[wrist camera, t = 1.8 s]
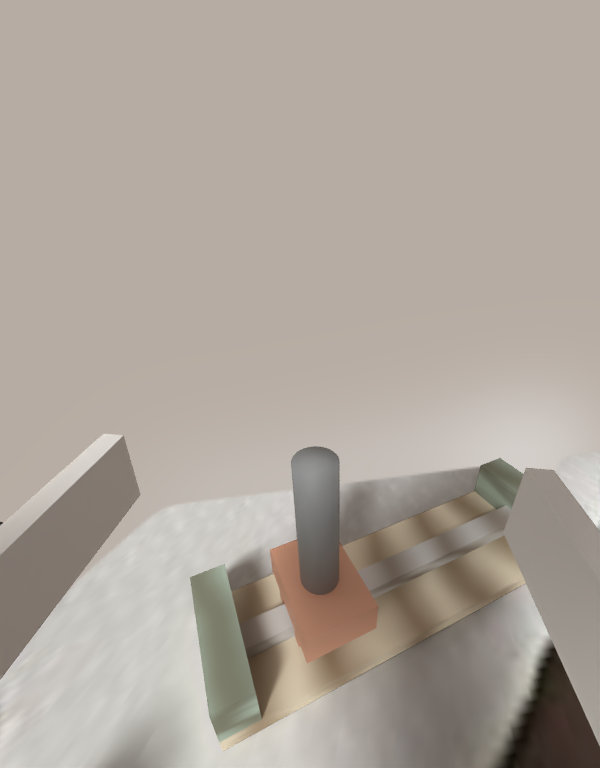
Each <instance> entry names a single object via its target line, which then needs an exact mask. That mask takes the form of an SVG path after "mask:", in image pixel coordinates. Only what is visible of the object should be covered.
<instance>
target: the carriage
mask: <svg viewBox="0 0 600 768" xmlns="http://www.w3.org/2000/svg"><path fill="white" fill-rule="evenodd" d="M291 468H292V480H293V493H294V505H295V518H296V530H297V540H294V541H292V542H289V543H286V544H284V545H281V546H279V547H276V548H273V549H271V550H270V554H271V561H272V569H273V573H274V576H275V578H276V581H277V584H278V587H279V590H280V597H281V600H282V603H283V604H285V605H286V608H287V611H288V614H289V616H290V619H291V622H292V624H293V627H294V632H295V638H296V641H297V644H298V647H300V646H301V649H302V651H303V654H304V657H305V660H306V662H307V663H309V662H311V661H313V660H315V659H317V658H319V657H321V656H323V655H325V654H327V653H329V652H331V651H333V650H335V649H337V648H339V647H341V646H342V645H344V644H346V643H348V642H350V641H352V640H354V639H356V638H358V637H360V636H362V635H364V634H366V633H368V632H370V631H372V630H374V629H376V625H377V614H378V605H377V603H376V601H375V600H374V598H373V596H372V595H371V593H370V591H369V590H368V588H367V586H366V585H365V583H364V581H363V580H362V578H361V576H360V575H359V573H358V571H357V570H356V568H355V567H354V565H353V563H352V562H351V560H350V558H349V557H348V555H347V553H346V552H345V550H344V548H343V547H342V545H341V543H340V542H339V458H338V456H337V455H336V454H335V453H334V452H333V451H331V450H330V449H327V448H324V447H308V448H304V449H302V450H300V451H298V452H297V453H296V454H295V455H294V456H293V458H292V460H291Z"/></svg>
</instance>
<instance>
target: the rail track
mask: <svg viewBox="0 0 600 768" xmlns="http://www.w3.org/2000/svg"><path fill="white" fill-rule="evenodd" d="M523 475H524V474H522V473H521V472H519V471H518V470H517V469H515V468H514V467H512V466H511V465H509V464H508V463H506V462H505V461H503V460H502V459H501V458H499V459H497V460H494V461H492V462H489V463H486V464H484V465H481V467H480V471H479V475H478V479H477V483H476V487H475V491H474V492H471V493H469V494H466V495H464V496H461V497H459V498H457V499H454V500H452V501H449V502H447V503H444V504H442V505H440V506H437V507H435V508H432V509H430V510H428V511H425V512H423V513H420V514H418V515H415V516H413V517H411V518H408V519H406V520H403V521H401V522H398V523H396V524H394V525H391V526H389V527H386V528H384V529H381V530H379V531H377V532H374V533H372V534H369V535H367V536H364V537H362V538H360V539H357V540H355V541H352V542H350V543H347V544H345V545H343V546H342V547H343V548H344V550H345V552H346V553H347V555H348V557H349V558H350V560H351V562H352V563H353V565H354V567H355V568H356V570H357V571H358V573H359V575H360V576H361V578H362V580H363V581H364V583H365V585H366V586H367V588H368V590H369V591H370V593H371V595H372V596H373V598H374V600H375V601H376V603H377V605H378V614H377V625H376V629H374V630H372V631H370V632H368V633H366V634H364V635H362V636H360V637H358V638H356V639H354V640H352V641H350V642H348V643H346V644H344V645H342V646H341V647H339V648H337V649H335V650H333V651H331V652H329V653H327V654H325V655H323V656H321V657H319V658H317V659H315V660H313V661H311V662H309V663H307V662H306V660H305V657H304V654H303V651H302V649H301V646H300V647H298V644H297V641H296V638H295V632H294V627H293V624H292V622H291V619H290V616H289V614H288V611H287V608H286V605H285V604H283V603H282V600H281V597H280V590H279V587H278V584H277V581H276V578H275V576H274V574H272V575H270V576H267V577H265V578H263V579H260V580H258V581H255V582H253V583H250V584H248V585H246V586H243V587H241V588H238V589H236V590H233V591H231V588H230V584H229V580H228V576H227V572H226V568H225V564H224V565H221V566H218V567H216V568H213V569H211V570H208V571H205V572H203V573H200V574H198V575H195V576H192V577H190V580H191V587H192V594H193V601H194V609H195V616H196V623H197V630H198V637H199V645H200V652H201V659H202V666H203V673H204V681H205V688H206V695H207V702H208V709H209V716H210V719H211V722H212V724H213V727H214V729H215V732H216V735H217V737H218V740H219V742H220V745H221V748H222V750H223V751H224V750H226V749H228V748H230V747H232V746H233V745H235V744H237V743H239V742H241V741H242V740H244V739H246V738H248V737H250V736H251V735H253V734H255V733H257V732H259V731H260V730H262V729H264V728H266V727H268V726H269V725H271V724H273V723H275V722H277V721H278V720H280V719H282V718H284V717H286V716H287V715H289V714H291V713H293V712H295V711H296V710H298V709H300V708H302V707H304V706H305V705H307V704H309V703H311V702H313V701H314V700H316V699H318V698H320V697H322V696H323V695H325V694H327V693H329V692H331V691H333V690H334V689H336V688H338V687H340V686H342V685H343V684H345V683H347V682H349V681H351V680H352V679H354V678H356V677H358V676H360V675H361V674H363V673H365V672H367V671H369V670H370V669H372V668H374V667H376V666H378V665H379V664H381V663H383V662H385V661H387V660H388V659H390V658H392V657H394V656H396V655H397V654H399V653H401V652H403V651H405V650H406V649H408V648H410V647H412V646H414V645H415V644H417V643H419V642H421V641H423V640H424V639H426V638H428V637H430V636H432V635H433V634H435V633H437V632H439V631H441V630H443V629H444V628H446V627H448V626H450V625H452V624H453V623H455V622H457V621H459V620H461V619H462V618H464V617H466V616H468V615H470V614H471V613H473V612H475V611H477V610H479V609H480V608H482V607H484V606H486V605H488V604H489V603H491V602H493V601H495V600H497V599H498V598H500V597H502V596H504V595H506V594H507V593H509V592H511V591H513V590H515V589H516V588H518V587H520V586H522V585H524V584H525V583H526V582H525V580H524V577H523V575H522V573H521V571H520V569H519V566H518V564H517V562H516V560H515V558H514V555H513V553H512V551H511V549H510V547H509V544H508V542H507V540H506V538H505V535H504V533H503V532H504V529H505V526H506V523H507V520H508V518H509V515H510V512H511V509H512V506H513V503H514V501H515V498H516V495H517V492H518V489H519V486H520V484H521V481H522V478H523Z"/></svg>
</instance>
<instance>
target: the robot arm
mask: <svg viewBox="0 0 600 768" xmlns="http://www.w3.org/2000/svg"><path fill="white" fill-rule="evenodd" d="M139 496H140V492H139V488H138V485H137V482H136V478H135V475H134V471H133V467H132V464H131V460H130V457H129V453H128V450H127V446H126V443H125V439H124V436H123V435H111V434H103V435H102V436H101V437H99V438H98V439H97V440H96V441H95V442H94V443H93V444H92V445H90V446H89V447H88V448H87V449H86V450H85V451H84V452H83V453H81V454H80V455H79V456H78V457H77V458H76V459H75V460H74V461H72V462H71V463H70V464H69V465H68V466H67V467H66V468H65V469H63V470H62V471H61V472H60V473H59V474H58V475H57V476H56V477H54V478H53V479H52V480H51V481H50V482H49V483H48V484H47V485H46V486H44V487H43V488H42V489H41V490H40V491H39V492H38V493H36V494H35V495H34V496H33V497H32V498H31V499H30V500H29V501H28V502H26V503H25V504H24V505H23V506H22V507H21V508H20V509H18V510H17V511H16V512H15V513H14V514H13V515H12V516H11V517H9V518H8V519H7V520H6V521H5V522H4V523H3V522H0V679H1V678H2V677H3V675H4V674H5V673H6V671H7V670H8V669H9V667H10V666H11V665H12V664H13V662H14V661H15V660H16V658H17V657H18V656H19V654H20V653H21V652H22V650H23V649H24V648H25V646H26V645H27V644H28V642H29V641H30V640H31V638H32V637H33V636H34V634H35V633H36V632H37V630H38V629H39V628H40V627H41V625H42V624H43V623H44V621H45V620H46V619H47V617H48V616H49V615H50V613H51V612H52V611H53V609H54V608H55V607H56V605H57V604H58V603H59V601H60V600H61V599H62V597H63V596H64V595H65V594H66V592H67V591H68V590H69V588H70V587H71V586H72V584H73V583H74V582H75V580H76V579H77V578H78V576H79V575H80V574H81V572H82V571H83V570H84V568H85V567H86V566H87V564H88V563H89V562H90V561H91V559H92V558H93V557H94V555H95V554H96V553H97V551H98V550H99V549H100V547H101V546H102V545H103V543H104V542H105V541H106V539H107V538H108V537H109V535H110V534H111V533H112V531H113V530H114V529H115V527H116V526H117V525H118V524H119V522H120V521H121V520H122V518H123V517H124V516H125V514H126V513H127V512H128V510H129V509H130V508H131V506H132V505H133V504H134V502H135V501H136V500H137V498H138V497H139ZM503 533H504V535H505V538H506V540H507V542H508V544H509V547H510V549H511V551H512V553H513V555H514V558H515V560H516V562H517V564H518V566H519V569H520V571H521V573H522V575H523V577H524V580H525V582H526V584H527V586H528V589H529V591H530V593H531V595H532V597H533V600H534V602H535V604H536V606H537V608H538V611H539V613H540V615H541V617H542V620H543V622H544V624H545V626H546V628H547V631H548V633H549V635H550V637H551V639H552V642H553V644H554V646H555V648H556V650H557V653H558V655H559V657H560V659H561V662H562V664H563V666H564V668H565V670H566V673H567V675H568V677H569V679H570V681H571V684H572V686H573V688H574V690H575V693H576V695H577V697H578V699H579V701H580V704H581V706H582V708H583V710H584V712H585V715H586V717H587V719H588V721H589V723H590V726H591V728H592V730H593V732H594V735H595V737H596V739H597V741H598V743H599V746H600V531H599V530H598V528H597V527H596V526H595V524H594V523H593V522H592V520H591V519H590V518H589V516H588V515H587V514H586V512H585V511H584V510H583V508H582V507H581V506H580V504H579V503H578V502H577V500H576V499H575V498H574V496H573V495H572V494H571V492H570V491H569V490H568V489H567V487H566V486H565V485H564V483H563V482H562V481H561V479H560V478H559V477H558V475H557V474H556V473H555V471H554V470H544V469H533V468H526V470H525V472H524V475H523V478H522V481H521V484H520V486H519V489H518V492H517V495H516V498H515V501H514V503H513V506H512V509H511V512H510V515H509V518H508V520H507V523H506V526H505V529H504V532H503Z"/></svg>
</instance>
